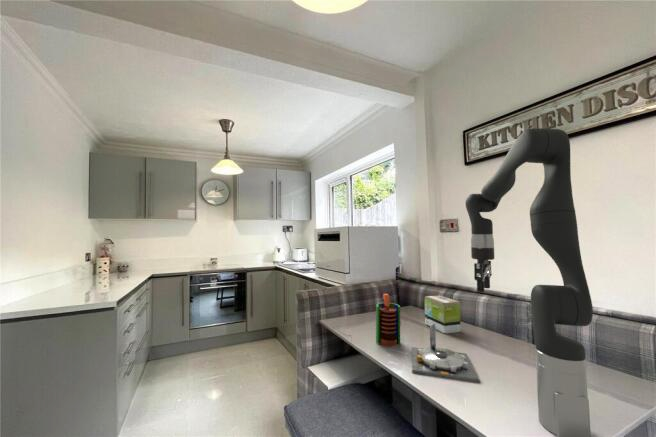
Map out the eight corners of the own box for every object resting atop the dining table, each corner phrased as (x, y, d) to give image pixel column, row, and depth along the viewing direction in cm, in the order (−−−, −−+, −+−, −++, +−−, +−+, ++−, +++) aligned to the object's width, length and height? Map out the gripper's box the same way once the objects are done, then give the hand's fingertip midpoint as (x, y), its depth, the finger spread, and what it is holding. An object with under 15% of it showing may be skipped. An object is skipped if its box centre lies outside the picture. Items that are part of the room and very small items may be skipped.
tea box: (424, 324, 142) (423, 295, 143) (440, 322, 145) (439, 294, 146) (444, 334, 128) (443, 302, 129) (461, 332, 131) (460, 300, 132)
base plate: (479, 382, 85) (479, 378, 85) (412, 372, 90) (412, 369, 90) (466, 356, 104) (466, 352, 104) (411, 349, 109) (411, 346, 109)
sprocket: (472, 374, 87) (471, 341, 87) (417, 367, 91) (416, 335, 92) (462, 353, 103) (461, 325, 103) (415, 348, 107) (415, 321, 108)
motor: (381, 347, 111) (381, 297, 113) (372, 339, 120) (372, 293, 121) (403, 345, 114) (402, 296, 116) (392, 337, 123) (392, 292, 124)
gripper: (476, 245, 110) (477, 285, 109) (465, 246, 100) (467, 291, 99) (498, 246, 105) (499, 288, 104) (489, 247, 95) (490, 294, 94)
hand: (483, 289), depth 101 cm, fingers open, 8 cm apart
